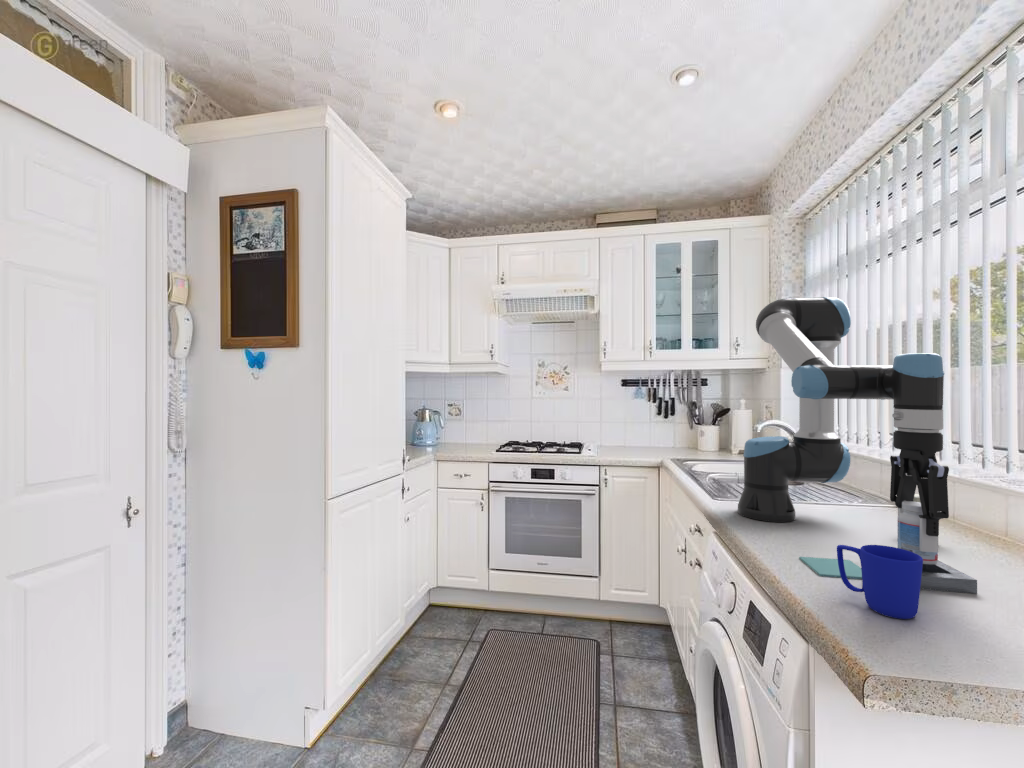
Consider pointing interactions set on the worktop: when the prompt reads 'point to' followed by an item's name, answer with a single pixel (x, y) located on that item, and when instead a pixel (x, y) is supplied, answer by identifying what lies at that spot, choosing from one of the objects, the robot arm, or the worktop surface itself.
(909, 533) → the pill bottle
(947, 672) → the worktop surface
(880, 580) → the mug
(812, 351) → the robot arm
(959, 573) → the grey square frame
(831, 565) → the mat
